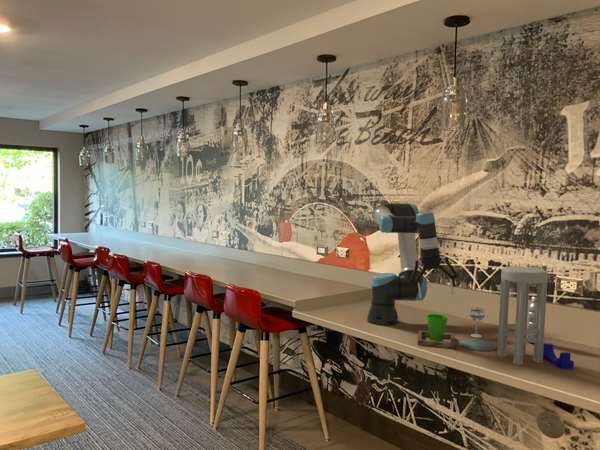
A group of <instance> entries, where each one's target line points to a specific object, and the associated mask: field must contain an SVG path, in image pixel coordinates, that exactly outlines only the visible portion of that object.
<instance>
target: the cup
mask: <svg viewBox="0 0 600 450" xmlns="http://www.w3.org/2000/svg"><path fill="white" fill-rule="evenodd" d="M425 316H426V319H427V320H426V321H427V327H428V331H429V340H431V341H442V342H444V338H443V337H444V333H446V332H445V331H446V326H447V322H448V319H449V316H448V315H446V314H441V313H428V314H426V315H425Z"/></svg>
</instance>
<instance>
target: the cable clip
mask: <svg viewBox="0 0 600 450" xmlns="http://www.w3.org/2000/svg"><path fill="white" fill-rule="evenodd" d="M571 356H572V355H571V353H570V352H567V351H566V352H563V351H562V352H559V357H557V356H556V354H555V350H554V344H553V343H551V342H550V343H549V342H547V343H546V342H544V347H543V359H544V360H545V361H546V362H548V363H550V364H552V365H554V366H556V367H557V368H559V369H561V370H575V369H574V367H575V361H574V360H572V359H571Z"/></svg>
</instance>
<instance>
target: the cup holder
mask: <svg viewBox="0 0 600 450" xmlns="http://www.w3.org/2000/svg"><path fill="white" fill-rule="evenodd" d="M417 335H418V336H417V346H423V345H425V346H426V347H433V348H434V347H435V348H443V349H444V348H446V349H456V337H455V333H452V332H451V333H450V332H444V337H443V339H449V340H450V341H431V340H430V339H423V337H427V338H428V337H429V330H420V329H419V330H418V334H417ZM429 338H430V337H429Z"/></svg>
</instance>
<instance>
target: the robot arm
mask: <svg viewBox="0 0 600 450" xmlns="http://www.w3.org/2000/svg"><path fill="white" fill-rule="evenodd" d="M371 217H372V220H373V221H374V223H375V224H377V225H378V226H379V227H378V228H379V232H381V233H385V234H391V233H392V234H397V240H398V250H399V261H400V262H399V263H400V272H398V276H397V274H396V273H395V272H382V273H377V274H375V275H373V276H372V278H371V284H370V285H371V292H370V293H371V296H370V297H371V299H370V301H371V302H370V306H369V309H368V313H367V315H366V321H367V322H368V323H371V324H374V325H378V326H379V325H381V326H391V325H392V326H393V325H396V324H398V323H399V314H398V311H397V308H396V301H405V302H408V301H411V302H417V301H419V302H420V301H421V302H422V301H424V300H425V298H426V296H427V291H428V279H427V277H426V276H424V274H425V272H426V271H427V270H429V271H430V270H437V269H438V268H439V270H441V271H442V272H443V273H444V274H446V275H447V276H448V277H449V286H450V287H449V288H450V291H451V292H450V293H451V295H452V296H455V292H454V287H456V280H455V279H457V278H459V274H458V273H457V272H456V270H455V269H454V267H453V266H452V264H451V263H450V261H449V257H447V256H445V257H441V253H440V248H439V247H438V246H439V242H438V234H437V228H436V227H437V226H436V219H435V215H434V213H433V211H426V212H420V210H419V208H418V206H417V205H416V204H415V203H410V202H409V203H408V202H405V203H399V202H398V203H397V202H396V203H395V202H385V203H381V204H379V205H377V206H376V207H374V208H373V210H372V212H371ZM416 234H418V240H419V245H420V249H421V250H420V251H421V252H420V253H421V260H418V251H417V242H416ZM442 261H443V263H445V264H446V265H447V267H448V268H449V270H450V272H452V274H451V273H450V272H449V271H448V270H447V269H446V268H445V267H443V265H441V263H442ZM421 264H422V265H423V267H422V269H421V270H419V266H421Z"/></svg>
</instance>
